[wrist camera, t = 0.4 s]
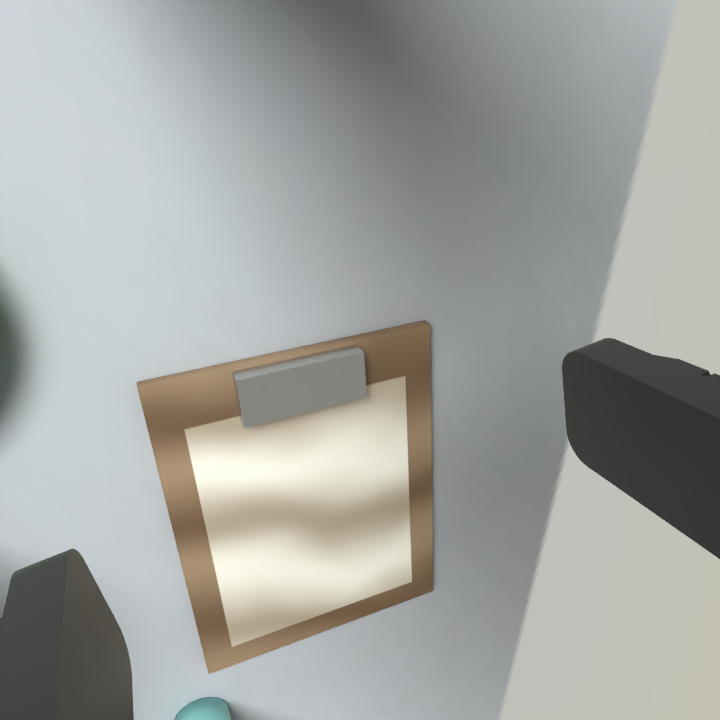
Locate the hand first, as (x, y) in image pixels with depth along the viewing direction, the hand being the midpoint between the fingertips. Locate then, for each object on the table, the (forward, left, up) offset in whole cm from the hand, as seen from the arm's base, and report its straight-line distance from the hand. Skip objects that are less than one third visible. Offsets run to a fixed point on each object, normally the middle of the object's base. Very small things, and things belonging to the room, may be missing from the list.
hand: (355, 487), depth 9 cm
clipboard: (+15, +3, -18) cm, 24 cm away
